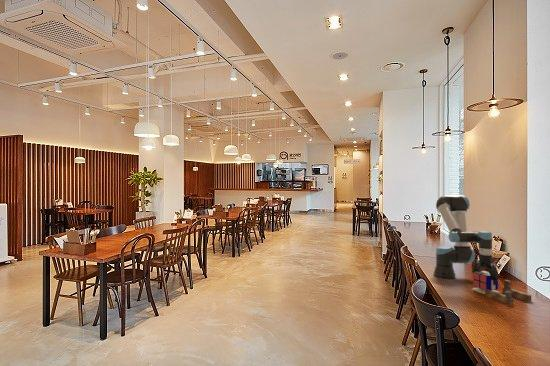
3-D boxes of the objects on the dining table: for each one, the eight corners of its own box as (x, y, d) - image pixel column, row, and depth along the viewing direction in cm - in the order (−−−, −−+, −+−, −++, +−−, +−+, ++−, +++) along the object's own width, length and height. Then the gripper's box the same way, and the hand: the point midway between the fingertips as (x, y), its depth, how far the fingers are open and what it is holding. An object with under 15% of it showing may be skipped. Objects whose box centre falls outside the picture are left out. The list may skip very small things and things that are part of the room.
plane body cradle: (485, 295, 200) (484, 282, 200) (505, 292, 205) (505, 279, 205) (510, 305, 185) (510, 290, 185) (531, 301, 190) (531, 287, 190)
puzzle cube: (486, 291, 202) (486, 276, 202) (473, 286, 212) (473, 271, 212) (498, 289, 205) (498, 274, 205) (484, 284, 214) (484, 270, 214)
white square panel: (472, 289, 212) (472, 288, 212) (484, 287, 215) (484, 286, 215) (487, 295, 201) (487, 293, 201) (499, 293, 204) (499, 292, 204)
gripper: (466, 251, 218) (466, 282, 218) (497, 258, 196) (498, 293, 196) (474, 250, 220) (474, 281, 220) (506, 257, 198) (506, 291, 198)
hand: (485, 286), depth 208 cm, fingers closed on puzzle cube, 10 cm apart
